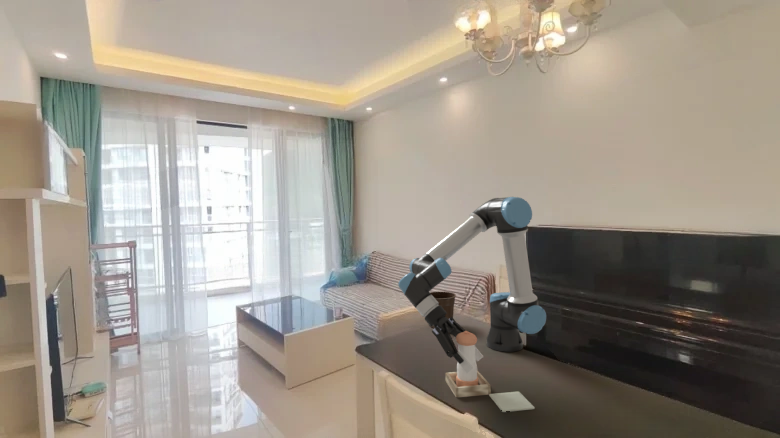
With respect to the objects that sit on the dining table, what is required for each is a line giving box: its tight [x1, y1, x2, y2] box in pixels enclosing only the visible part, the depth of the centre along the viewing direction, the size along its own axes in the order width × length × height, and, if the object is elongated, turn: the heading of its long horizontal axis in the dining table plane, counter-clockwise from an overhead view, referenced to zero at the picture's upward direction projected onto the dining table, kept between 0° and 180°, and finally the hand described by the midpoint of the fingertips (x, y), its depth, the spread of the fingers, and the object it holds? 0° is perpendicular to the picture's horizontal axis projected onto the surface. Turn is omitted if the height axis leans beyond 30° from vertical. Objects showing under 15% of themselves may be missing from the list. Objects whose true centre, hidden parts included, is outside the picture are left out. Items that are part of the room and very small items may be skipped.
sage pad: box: [488, 390, 535, 413], centre depth 116 cm, size 10×10×1 cm
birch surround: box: [445, 369, 492, 399], centre depth 126 cm, size 12×12×3 cm
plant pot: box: [428, 291, 457, 329], centre depth 193 cm, size 16×16×16 cm
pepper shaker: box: [455, 330, 479, 387], centre depth 125 cm, size 7×7×19 cm
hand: (475, 364), depth 124 cm, fingers open, 10 cm apart
